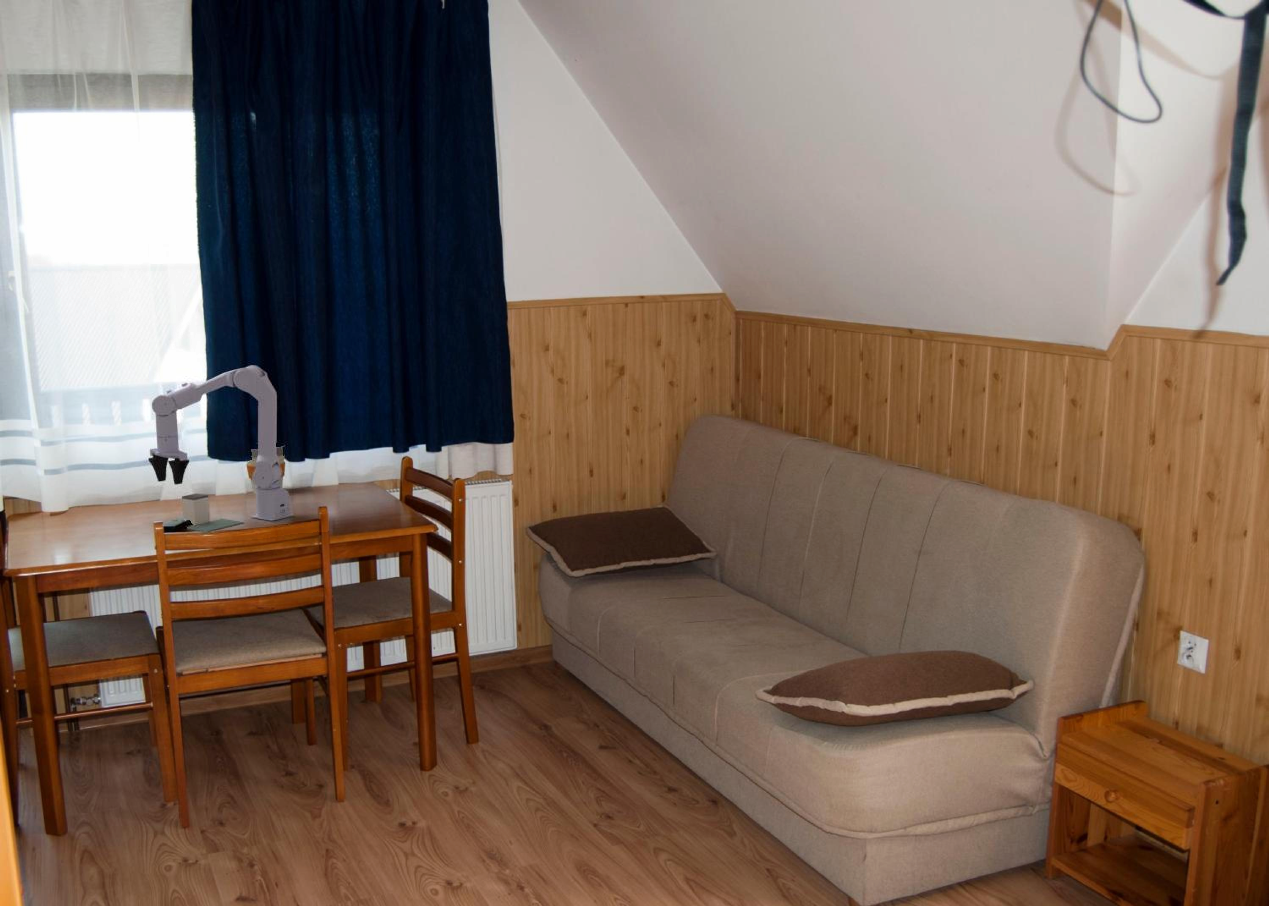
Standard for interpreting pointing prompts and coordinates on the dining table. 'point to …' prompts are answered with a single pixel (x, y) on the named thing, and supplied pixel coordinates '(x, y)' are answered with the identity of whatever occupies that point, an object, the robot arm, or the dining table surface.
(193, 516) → the gray block
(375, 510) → the dining table surface
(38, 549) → the dining table surface
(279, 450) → the reusable coffee cup
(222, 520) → the dice mat
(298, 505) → the dining table surface
